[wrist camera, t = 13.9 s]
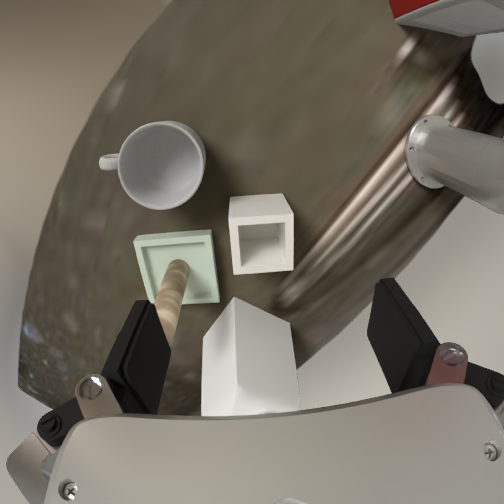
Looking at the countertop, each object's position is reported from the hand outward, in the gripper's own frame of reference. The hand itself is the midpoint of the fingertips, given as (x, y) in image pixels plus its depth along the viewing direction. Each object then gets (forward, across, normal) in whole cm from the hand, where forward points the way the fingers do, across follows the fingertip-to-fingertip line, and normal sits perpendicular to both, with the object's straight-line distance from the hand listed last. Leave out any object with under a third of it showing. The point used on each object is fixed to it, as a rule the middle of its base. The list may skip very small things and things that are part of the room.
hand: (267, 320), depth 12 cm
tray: (+31, +13, +14) cm, 37 cm away
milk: (+32, +4, +29) cm, 43 cm away
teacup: (+32, +12, -4) cm, 34 cm away
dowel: (+30, +13, +14) cm, 36 cm away
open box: (+32, 0, +8) cm, 33 cm away
